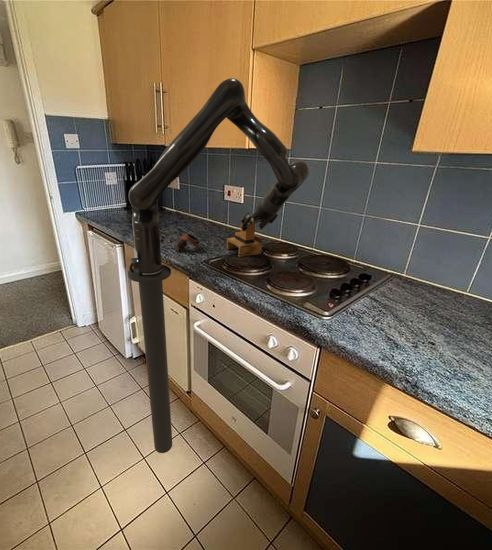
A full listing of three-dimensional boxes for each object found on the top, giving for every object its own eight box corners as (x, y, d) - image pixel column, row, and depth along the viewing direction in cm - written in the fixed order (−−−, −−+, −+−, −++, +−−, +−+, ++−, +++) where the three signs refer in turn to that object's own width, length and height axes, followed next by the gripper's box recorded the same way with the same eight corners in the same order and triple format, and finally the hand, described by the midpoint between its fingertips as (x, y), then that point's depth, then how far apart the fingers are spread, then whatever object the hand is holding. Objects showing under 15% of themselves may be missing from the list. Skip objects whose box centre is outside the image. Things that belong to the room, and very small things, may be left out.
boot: (254, 242, 130) (255, 219, 126) (245, 244, 128) (246, 220, 124) (243, 237, 137) (244, 215, 133) (234, 238, 135) (235, 216, 131)
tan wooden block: (239, 257, 127) (240, 241, 124) (226, 248, 137) (226, 233, 134) (261, 253, 132) (262, 238, 129) (247, 245, 142) (247, 231, 139)
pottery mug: (179, 246, 140) (188, 231, 138) (195, 258, 138) (204, 243, 136) (167, 247, 128) (177, 231, 126) (185, 260, 127) (194, 243, 125)
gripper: (281, 195, 116) (262, 219, 130) (250, 197, 110) (234, 222, 123) (289, 212, 114) (268, 234, 127) (257, 215, 107) (240, 238, 121)
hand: (251, 228), depth 125 cm, fingers open, 8 cm apart
